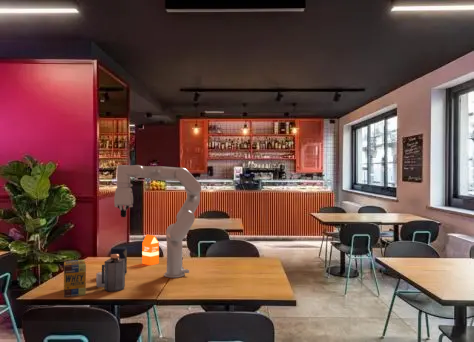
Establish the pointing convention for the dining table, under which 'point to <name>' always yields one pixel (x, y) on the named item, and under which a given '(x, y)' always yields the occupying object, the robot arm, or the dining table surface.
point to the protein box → (74, 278)
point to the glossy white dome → (99, 279)
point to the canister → (121, 254)
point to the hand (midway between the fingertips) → (123, 216)
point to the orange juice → (150, 250)
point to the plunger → (114, 257)
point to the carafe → (114, 275)
